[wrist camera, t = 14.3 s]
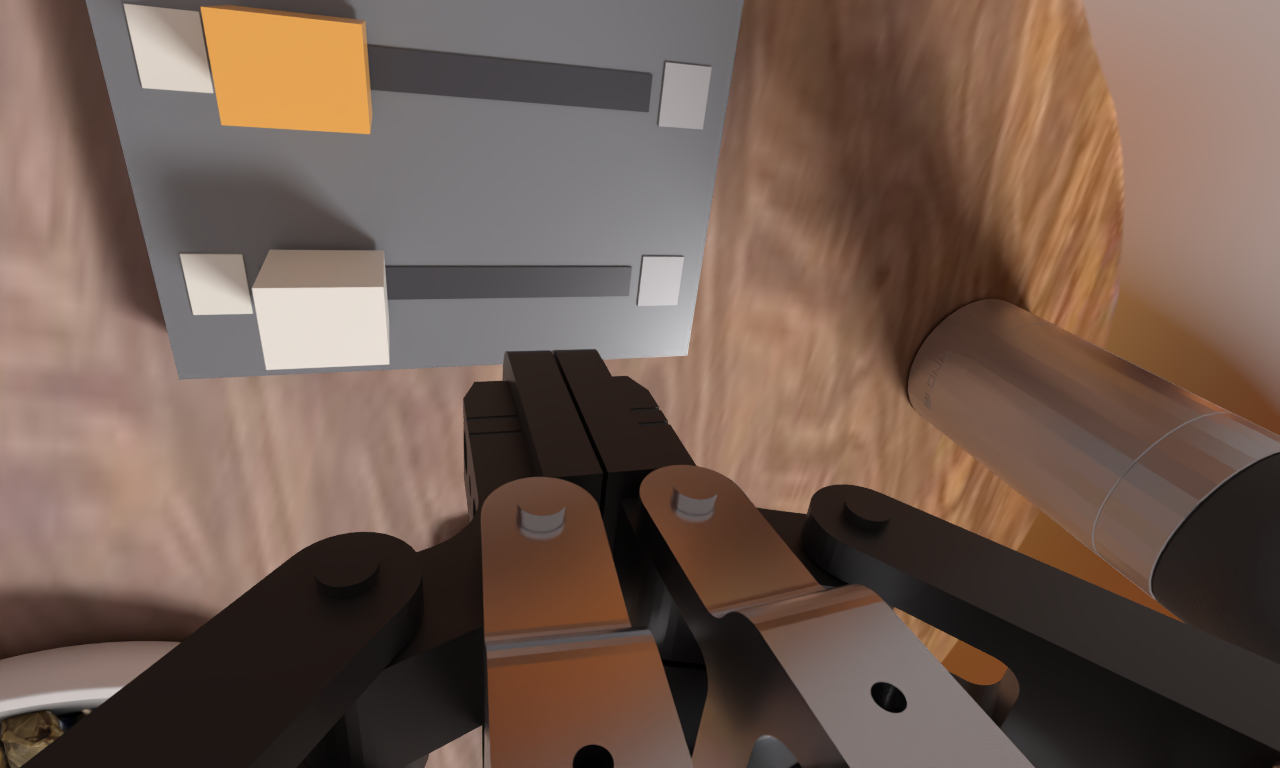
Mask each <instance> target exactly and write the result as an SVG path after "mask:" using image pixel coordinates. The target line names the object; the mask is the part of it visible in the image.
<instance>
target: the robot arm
mask: <svg viewBox="0 0 1280 768" xmlns="http://www.w3.org/2000/svg"><path fill="white" fill-rule="evenodd" d="M908 394H909V399H910V402H911V404H912V406H913V408H914V409H915V411H917V412H918V413H919V414H920V415H921V416H922V417H923V418H925V419H926V420H927V421H928V422H930V423H931V424H932V425H933V426H935V427H936V428H937V429H939V430H940V431H941V432H942V433H944V434H945V435H946V436H947V437H949V438H950V439H951V440H953V441H954V442H955V443H956V444H957V445H958V446H960V447H961V448H962V449H964V450H965V451H966V452H967V453H969V454H970V455H971V456H972V457H974V458H975V459H976V460H977V461H979V462H980V463H981V464H983V465H984V466H985V467H986V468H988V469H989V470H990V471H991V472H993V473H994V474H995V475H997V476H998V477H999V478H1000V479H1002V480H1003V481H1004V482H1005V483H1007V484H1008V485H1009V486H1011V487H1012V488H1013V489H1014V490H1016V491H1017V492H1018V493H1019V494H1021V495H1022V496H1023V497H1025V498H1026V499H1027V500H1028V501H1030V502H1031V503H1032V504H1033V505H1035V506H1036V507H1037V508H1038V509H1040V510H1041V511H1042V512H1044V513H1045V514H1046V515H1047V516H1049V517H1050V518H1051V519H1052V520H1054V521H1055V522H1057V523H1058V524H1059V525H1060V526H1061V527H1063V528H1064V529H1065V530H1067V531H1068V532H1069V533H1070V534H1072V535H1073V536H1074V537H1075V538H1077V539H1078V540H1079V541H1081V542H1082V543H1083V544H1084V545H1086V546H1087V547H1088V548H1090V549H1091V550H1092V551H1093V552H1094V553H1096V554H1097V555H1098V556H1100V557H1101V558H1103V559H1104V560H1105V561H1106V562H1108V563H1109V564H1110V565H1111V566H1113V567H1114V568H1115V569H1116V570H1118V571H1119V572H1120V573H1122V574H1123V575H1124V576H1125V577H1127V578H1128V579H1129V580H1131V581H1132V582H1133V583H1134V584H1136V585H1137V586H1138V587H1139V588H1141V589H1142V590H1143V591H1144V592H1146V593H1147V594H1149V596H1151V597H1152V598H1153V599H1155V600H1157V602H1158V603H1160V604H1161V605H1162V606H1164V607H1165V608H1166V609H1168V610H1169V611H1170V612H1171V613H1173V614H1174V615H1175V616H1177V617H1178V618H1179V619H1181V620H1182V621H1183V622H1185V623H1186V624H1185V623H1182V622H1180V621H1178V620H1175V619H1173V618H1171V617H1168V616H1166V615H1164V614H1161V613H1159V612H1156V611H1154V610H1152V609H1150V608H1147V607H1145V606H1143V605H1140V604H1138V603H1136V602H1133V601H1131V600H1129V599H1126V598H1124V597H1122V596H1119V595H1117V594H1114V593H1112V592H1110V591H1108V590H1105V589H1103V588H1101V587H1098V586H1096V585H1094V584H1092V583H1089V582H1087V581H1085V580H1082V579H1080V578H1078V577H1075V576H1073V575H1071V574H1068V573H1066V572H1064V571H1061V570H1059V569H1056V568H1054V567H1052V566H1050V565H1047V564H1045V563H1042V562H1040V561H1038V560H1036V559H1033V558H1031V557H1029V556H1026V555H1024V554H1022V553H1019V552H1017V551H1015V550H1012V549H1010V548H1008V547H1005V546H1003V545H1001V544H998V543H996V542H994V541H991V540H989V539H987V538H984V537H982V536H980V535H977V534H975V533H973V532H970V531H968V530H966V529H963V528H961V527H959V526H956V525H954V524H952V523H949V522H947V521H945V520H942V519H940V518H938V517H935V516H933V515H931V514H928V513H926V512H924V511H921V510H919V509H917V508H914V507H912V506H910V505H907V504H905V503H903V502H900V501H898V500H896V499H893V498H891V497H889V496H886V495H884V494H882V493H879V492H877V491H874V490H871V489H868V488H864V487H860V486H854V485H832V486H827V487H824V488H822V489H820V490H818V491H817V492H816V493H815V494H814V495H813V497H812V498H811V502H810V505H809V508H808V512H807V514H801V513H793V512H785V511H776V510H768V509H762V508H756V507H755V505H754V504H753V503H752V502H751V501H750V499H749V498H748V497H747V496H746V494H745V493H744V492H743V491H742V490H741V488H740V487H739V486H738V485H737V484H736V483H734V482H733V481H732V480H730V479H729V478H727V477H726V476H724V475H722V474H720V473H718V472H716V471H713V470H710V469H707V468H703V467H699V466H696V464H695V463H694V461H693V460H692V458H691V457H690V455H689V453H688V452H687V450H686V449H685V447H684V446H683V444H682V442H681V441H680V439H679V438H678V436H677V435H676V433H675V431H674V430H673V428H672V427H671V425H668V420H667V419H666V417H665V416H664V414H663V413H662V411H661V410H659V406H658V405H657V403H656V402H655V400H654V398H653V397H652V395H651V394H650V392H649V391H648V390H647V389H646V388H644V387H643V386H641V385H640V384H638V383H637V382H635V381H634V380H632V379H631V378H629V377H628V376H614V377H612V376H611V374H610V372H609V370H608V369H607V367H606V365H605V363H604V361H603V360H602V358H601V356H600V354H599V353H598V351H597V350H596V349H575V350H552V351H550V350H539V351H505V354H504V360H503V381H487V382H474V384H473V385H472V387H471V388H470V390H469V391H468V393H467V394H466V396H465V397H464V399H463V413H464V481H465V489H466V497H467V505H468V513H469V519H470V523H469V524H468V525H467V526H466V527H465V528H464V529H463V530H462V531H461V532H460V533H458V534H457V535H455V536H454V537H452V538H451V539H449V540H447V541H445V542H443V543H441V544H438V545H436V546H433V547H431V548H428V549H425V550H422V551H419V552H416V551H415V550H414V549H413V548H412V547H411V546H410V545H408V544H407V543H406V542H404V541H402V540H400V539H398V538H396V537H393V536H390V535H387V534H382V533H375V532H355V533H347V534H341V535H336V536H333V537H329V538H326V539H323V540H321V541H318V542H316V543H314V544H312V545H310V546H308V547H306V548H304V549H302V550H301V551H299V552H298V553H297V554H295V555H294V556H292V557H291V558H290V559H288V560H287V561H286V562H285V563H283V564H282V565H281V566H279V567H278V568H277V569H275V570H274V571H273V572H272V573H270V574H269V575H268V576H266V577H265V578H264V579H263V580H261V581H260V582H259V583H257V584H256V585H255V586H253V587H252V588H251V589H250V590H248V591H247V592H246V593H244V594H243V595H242V596H241V597H239V598H238V599H237V600H235V601H234V602H233V603H232V604H230V605H229V606H228V607H226V608H225V609H224V610H222V611H221V612H220V613H219V614H217V615H216V616H215V617H213V618H212V619H211V620H210V621H208V622H207V623H206V624H204V625H203V626H202V627H200V628H199V629H198V630H197V631H195V632H194V633H193V634H191V635H190V636H189V637H188V638H186V639H185V640H184V641H182V642H181V643H180V644H178V645H177V646H176V647H175V648H173V649H172V650H171V651H169V652H168V653H167V654H166V655H164V656H163V657H162V658H160V659H159V660H158V661H157V662H155V663H154V664H153V665H151V666H150V667H149V668H147V669H146V670H145V671H144V672H142V673H141V674H140V675H138V676H137V677H136V678H135V679H133V680H132V681H131V682H129V683H128V684H127V685H125V686H124V687H123V688H122V689H120V690H119V691H118V692H116V693H115V694H114V695H113V696H111V697H110V698H109V699H107V700H106V701H105V702H104V703H102V704H101V705H100V706H98V707H97V708H96V709H94V710H93V711H92V712H91V713H89V714H88V715H87V716H85V717H84V718H83V719H82V720H80V721H79V722H78V723H76V724H75V725H74V726H72V727H71V728H70V729H69V730H67V731H66V732H65V733H63V734H62V735H61V736H60V737H58V738H57V739H56V740H54V741H53V742H52V743H50V744H49V745H48V746H47V747H45V748H44V749H43V750H41V751H40V752H39V753H38V754H36V755H35V756H34V757H32V758H31V759H30V760H29V761H27V762H26V763H25V764H23V765H22V766H21V767H19V768H424V767H425V765H426V762H427V760H428V756H429V753H431V752H433V751H434V750H436V749H438V748H440V747H442V746H444V745H446V744H448V743H449V742H451V741H453V740H455V739H457V738H459V737H461V736H462V735H464V734H466V733H468V732H470V731H472V730H474V729H476V728H477V727H479V726H481V750H482V768H1280V436H1278V435H1277V434H1275V433H1272V432H1270V431H1268V430H1266V429H1264V428H1262V427H1260V426H1258V425H1256V424H1254V423H1252V422H1250V421H1248V420H1246V419H1244V418H1242V417H1240V416H1238V415H1235V414H1233V413H1231V412H1229V411H1227V410H1225V409H1223V408H1221V407H1219V406H1217V405H1215V404H1213V403H1211V402H1209V401H1207V400H1205V399H1203V398H1201V397H1199V396H1197V395H1195V394H1193V393H1191V392H1189V391H1187V390H1184V389H1183V388H1181V387H1178V386H1177V385H1175V384H1172V383H1171V382H1169V381H1167V380H1165V379H1162V378H1160V377H1158V376H1156V375H1154V374H1152V373H1150V372H1148V371H1146V370H1144V369H1142V368H1140V367H1138V366H1136V365H1134V364H1132V363H1130V362H1128V361H1126V360H1124V359H1122V358H1120V357H1118V356H1116V355H1114V354H1112V353H1110V352H1108V351H1106V350H1104V349H1102V348H1100V347H1098V346H1096V345H1094V344H1092V343H1090V342H1088V341H1086V340H1084V339H1082V338H1080V337H1078V336H1076V335H1074V334H1072V333H1070V332H1068V331H1066V330H1064V329H1062V328H1060V327H1058V326H1056V325H1054V324H1052V323H1050V322H1048V321H1046V320H1044V319H1042V318H1040V317H1038V316H1036V315H1034V314H1032V313H1030V312H1028V311H1026V310H1024V309H1022V308H1020V307H1018V306H1016V305H1014V304H1012V303H1010V302H1007V301H1004V300H1000V299H984V300H980V301H976V302H973V303H970V304H968V305H966V306H964V307H962V308H960V309H958V310H957V311H955V312H954V313H952V314H951V315H949V316H948V317H947V318H946V319H944V320H943V321H942V322H941V323H940V324H939V325H938V326H937V327H936V328H935V329H934V330H933V331H932V332H931V334H930V335H929V336H928V337H927V338H926V340H925V341H924V343H923V344H922V346H921V348H920V349H919V351H918V352H917V355H916V357H915V359H914V362H913V364H912V366H911V370H910V374H909V379H908ZM894 607H896V608H898V609H900V610H902V611H904V612H906V613H908V614H910V615H912V616H914V617H916V618H918V619H920V620H922V621H924V622H926V623H928V624H930V625H932V626H934V627H936V628H937V629H939V630H941V631H943V632H945V633H947V634H949V635H951V636H953V637H955V638H957V639H959V640H961V641H964V642H965V643H967V644H969V645H971V646H973V647H975V648H977V649H979V650H981V651H983V652H985V653H987V654H989V655H991V656H993V657H995V658H997V659H998V660H1000V661H1001V662H1003V663H1004V664H1005V665H1006V666H1008V669H1007V671H1006V673H1005V675H1004V676H1003V678H1002V679H1001V680H1000V681H999V682H997V683H995V684H992V685H977V684H973V683H970V682H968V681H966V680H964V679H962V678H960V677H958V676H956V675H954V674H952V673H950V672H949V671H947V670H946V669H945V668H944V667H943V665H942V664H941V663H940V662H939V661H938V660H937V659H936V658H935V657H934V655H933V654H932V653H931V652H930V651H929V650H928V649H927V648H926V647H925V646H924V644H923V643H922V642H921V641H920V640H919V639H918V638H917V637H916V636H915V635H914V633H913V632H912V631H911V630H910V629H909V628H908V627H907V626H906V625H905V623H904V622H903V621H902V620H901V619H900V618H899V617H898V616H897V615H896V614H895V612H894V611H893V608H894Z"/></svg>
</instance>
